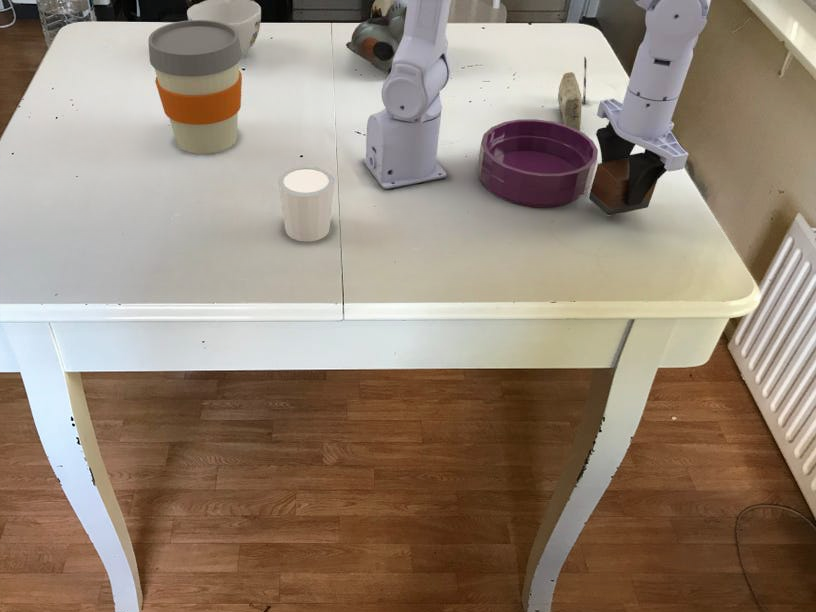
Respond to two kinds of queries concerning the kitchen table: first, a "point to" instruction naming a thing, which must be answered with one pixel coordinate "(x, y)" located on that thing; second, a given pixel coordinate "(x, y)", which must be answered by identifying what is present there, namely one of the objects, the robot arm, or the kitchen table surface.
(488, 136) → the bowl
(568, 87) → the cuneiform tablet
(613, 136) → the robot arm
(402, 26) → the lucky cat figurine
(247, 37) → the teacup
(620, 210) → the eraser
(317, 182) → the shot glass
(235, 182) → the kitchen table surface
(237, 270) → the kitchen table surface
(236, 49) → the reusable coffee cup
